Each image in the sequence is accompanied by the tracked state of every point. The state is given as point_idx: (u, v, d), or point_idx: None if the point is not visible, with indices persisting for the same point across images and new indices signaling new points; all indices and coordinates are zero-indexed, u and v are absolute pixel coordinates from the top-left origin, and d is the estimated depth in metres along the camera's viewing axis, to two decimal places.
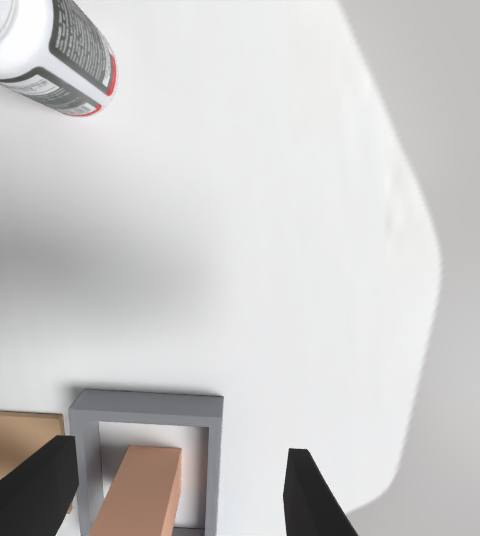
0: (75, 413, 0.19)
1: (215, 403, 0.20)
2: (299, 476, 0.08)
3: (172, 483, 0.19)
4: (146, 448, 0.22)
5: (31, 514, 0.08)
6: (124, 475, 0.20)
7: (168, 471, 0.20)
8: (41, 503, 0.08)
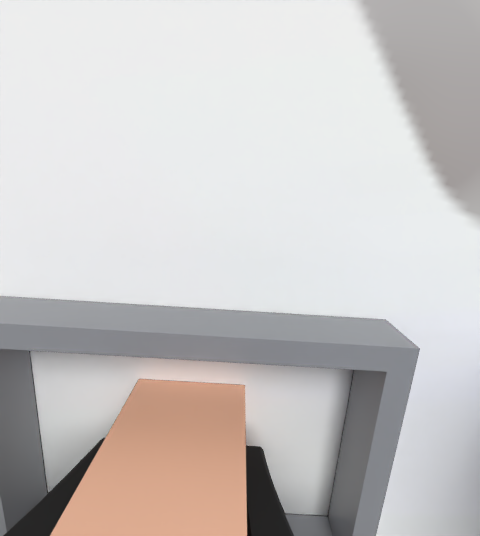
0: None
1: None
2: None
3: (107, 439, 0.08)
4: None
5: None
6: None
7: None
8: None
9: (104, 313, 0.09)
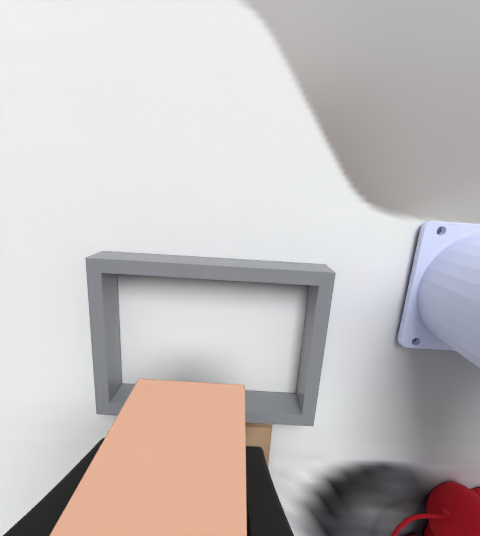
0: (101, 408, 0.18)
1: None
2: None
3: (107, 439, 0.08)
4: None
5: None
6: None
7: None
8: None
9: (166, 258, 0.17)
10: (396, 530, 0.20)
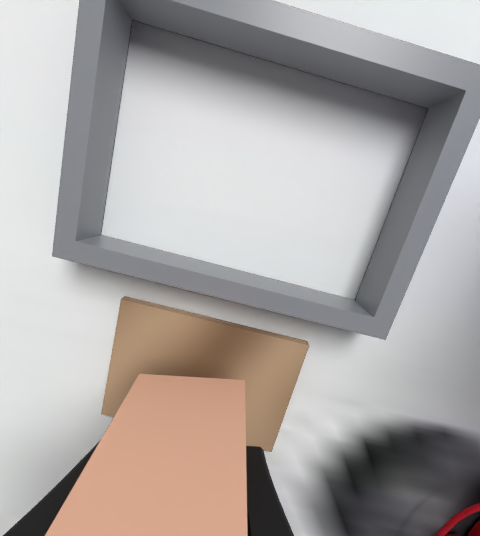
0: (61, 247, 0.11)
1: None
2: None
3: (107, 432, 0.08)
4: None
5: None
6: None
7: None
8: None
9: None
10: (453, 521, 0.14)
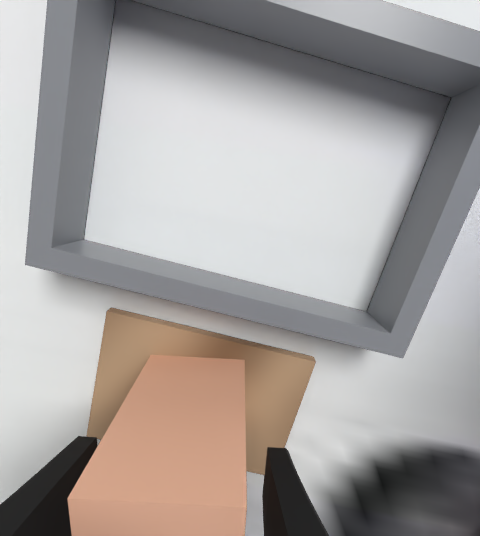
0: (35, 254, 0.10)
1: None
2: (274, 475, 0.08)
3: (126, 399, 0.10)
4: None
5: (58, 516, 0.08)
6: None
7: None
8: (67, 505, 0.08)
9: None
10: None
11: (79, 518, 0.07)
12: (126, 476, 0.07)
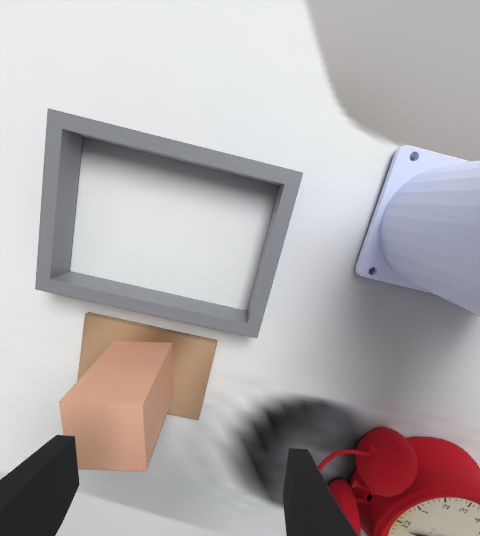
0: (41, 283, 0.17)
1: None
2: (299, 476, 0.08)
3: (94, 364, 0.17)
4: None
5: (30, 514, 0.08)
6: None
7: None
8: (41, 503, 0.08)
9: None
10: (322, 463, 0.20)
11: (65, 412, 0.14)
12: (88, 394, 0.14)
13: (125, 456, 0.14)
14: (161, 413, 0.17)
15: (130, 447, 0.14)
